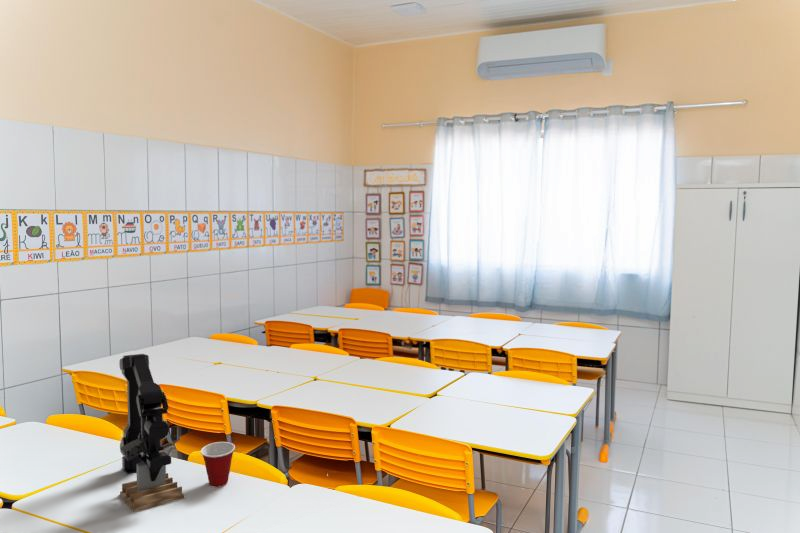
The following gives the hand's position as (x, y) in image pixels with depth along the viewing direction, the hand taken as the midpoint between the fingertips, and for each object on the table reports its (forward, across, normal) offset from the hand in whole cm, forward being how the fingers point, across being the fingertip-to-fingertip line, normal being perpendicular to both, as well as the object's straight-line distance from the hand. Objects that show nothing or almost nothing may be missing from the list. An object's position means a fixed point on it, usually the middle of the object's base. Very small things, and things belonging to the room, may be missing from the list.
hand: (151, 479), depth 193 cm
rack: (+5, 0, 0) cm, 5 cm away
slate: (+3, 0, 0) cm, 3 cm away
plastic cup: (+6, +3, +20) cm, 21 cm away
